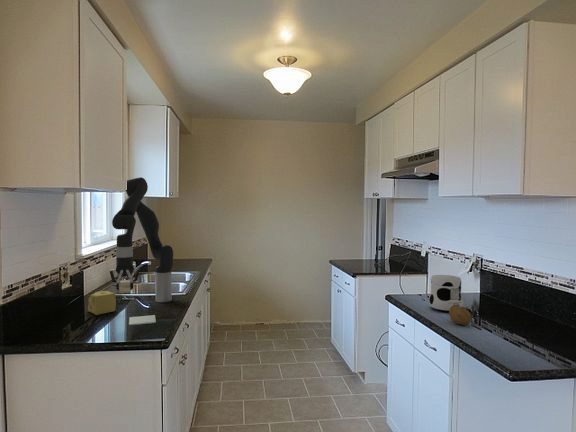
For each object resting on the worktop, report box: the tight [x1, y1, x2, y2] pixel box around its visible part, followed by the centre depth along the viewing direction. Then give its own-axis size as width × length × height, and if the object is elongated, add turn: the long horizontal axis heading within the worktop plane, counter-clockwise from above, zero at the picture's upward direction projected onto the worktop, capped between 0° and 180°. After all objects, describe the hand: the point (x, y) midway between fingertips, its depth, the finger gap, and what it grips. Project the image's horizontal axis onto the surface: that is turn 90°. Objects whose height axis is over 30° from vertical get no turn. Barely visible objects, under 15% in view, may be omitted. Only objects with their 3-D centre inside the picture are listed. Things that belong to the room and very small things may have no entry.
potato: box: [448, 306, 473, 326], centre depth 190 cm, size 10×14×8 cm
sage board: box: [128, 314, 157, 326], centre depth 194 cm, size 12×12×1 cm
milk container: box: [428, 274, 464, 313], centre depth 216 cm, size 17×17×18 cm
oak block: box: [118, 279, 132, 294], centre depth 193 cm, size 5×5×5 cm
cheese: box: [87, 290, 117, 316], centre depth 210 cm, size 10×11×10 cm
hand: (125, 290), depth 193 cm, fingers closed on oak block, 5 cm apart
